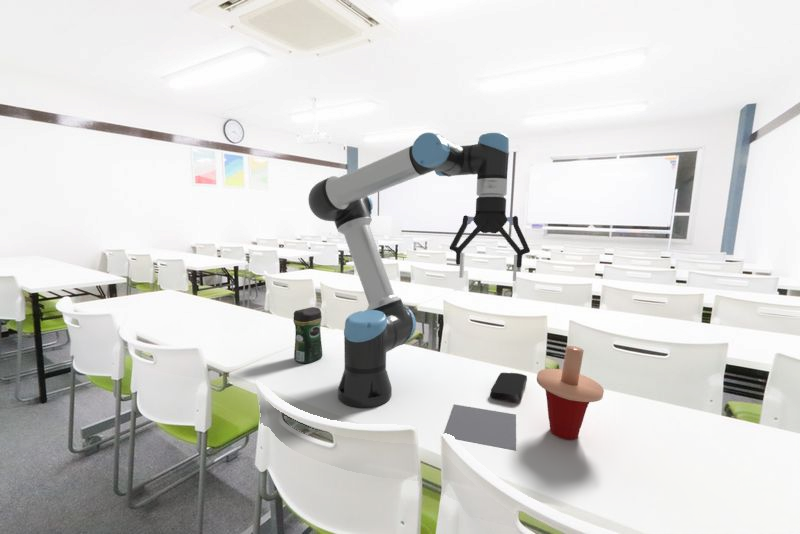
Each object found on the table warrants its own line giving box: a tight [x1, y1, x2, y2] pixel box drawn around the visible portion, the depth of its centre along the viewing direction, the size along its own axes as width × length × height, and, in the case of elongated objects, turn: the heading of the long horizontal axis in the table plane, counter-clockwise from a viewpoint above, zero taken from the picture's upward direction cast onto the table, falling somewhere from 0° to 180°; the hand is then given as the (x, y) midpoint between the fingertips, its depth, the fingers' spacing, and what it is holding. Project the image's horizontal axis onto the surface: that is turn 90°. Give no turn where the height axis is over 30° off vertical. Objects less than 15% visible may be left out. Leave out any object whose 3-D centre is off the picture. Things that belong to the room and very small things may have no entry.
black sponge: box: [489, 372, 528, 404], centre depth 108 cm, size 16×8×4 cm, turn 154°
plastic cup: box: [544, 389, 590, 441], centre depth 85 cm, size 11×11×12 cm
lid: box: [536, 345, 605, 403], centre depth 84 cm, size 14×14×9 cm
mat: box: [443, 404, 517, 452], centre depth 89 cm, size 16×16×1 cm
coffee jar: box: [292, 306, 323, 364], centre depth 130 cm, size 10×8×19 cm
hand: (487, 278), depth 97 cm, fingers open, 13 cm apart
